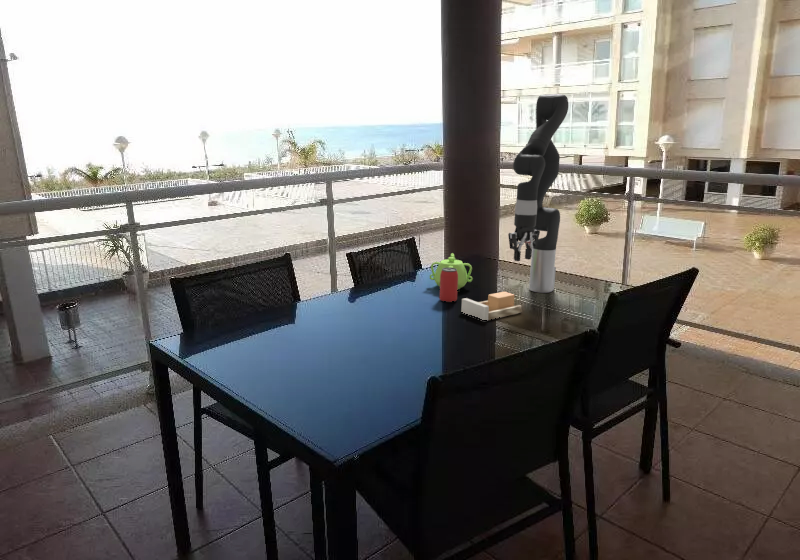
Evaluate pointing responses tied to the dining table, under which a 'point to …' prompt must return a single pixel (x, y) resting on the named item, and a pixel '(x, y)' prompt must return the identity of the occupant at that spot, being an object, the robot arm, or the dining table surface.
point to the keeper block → (500, 300)
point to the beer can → (448, 284)
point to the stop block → (475, 309)
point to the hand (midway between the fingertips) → (522, 259)
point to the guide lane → (502, 311)
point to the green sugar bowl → (452, 264)
